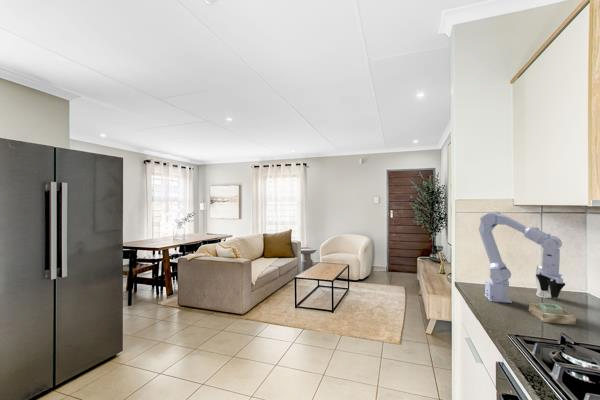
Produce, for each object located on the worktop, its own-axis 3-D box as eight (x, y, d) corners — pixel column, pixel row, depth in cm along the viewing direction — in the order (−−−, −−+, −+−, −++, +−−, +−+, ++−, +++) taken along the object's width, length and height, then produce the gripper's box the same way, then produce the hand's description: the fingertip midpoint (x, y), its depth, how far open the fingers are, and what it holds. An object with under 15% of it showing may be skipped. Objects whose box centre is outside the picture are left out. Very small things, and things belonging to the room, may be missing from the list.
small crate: (545, 317, 121) (546, 307, 121) (539, 312, 126) (539, 302, 126) (562, 319, 120) (563, 309, 120) (555, 314, 125) (555, 304, 125)
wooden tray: (542, 321, 119) (542, 313, 119) (528, 310, 130) (529, 303, 129) (575, 324, 117) (576, 316, 116) (558, 313, 127) (559, 305, 127)
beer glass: (548, 294, 149) (549, 266, 148) (555, 299, 142) (556, 270, 142) (532, 292, 151) (533, 265, 150) (538, 297, 145) (539, 268, 144)
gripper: (572, 269, 118) (570, 301, 119) (551, 260, 132) (550, 288, 133) (552, 268, 120) (550, 299, 121) (533, 259, 134) (532, 287, 135)
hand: (549, 293), depth 127 cm, fingers open, 7 cm apart
